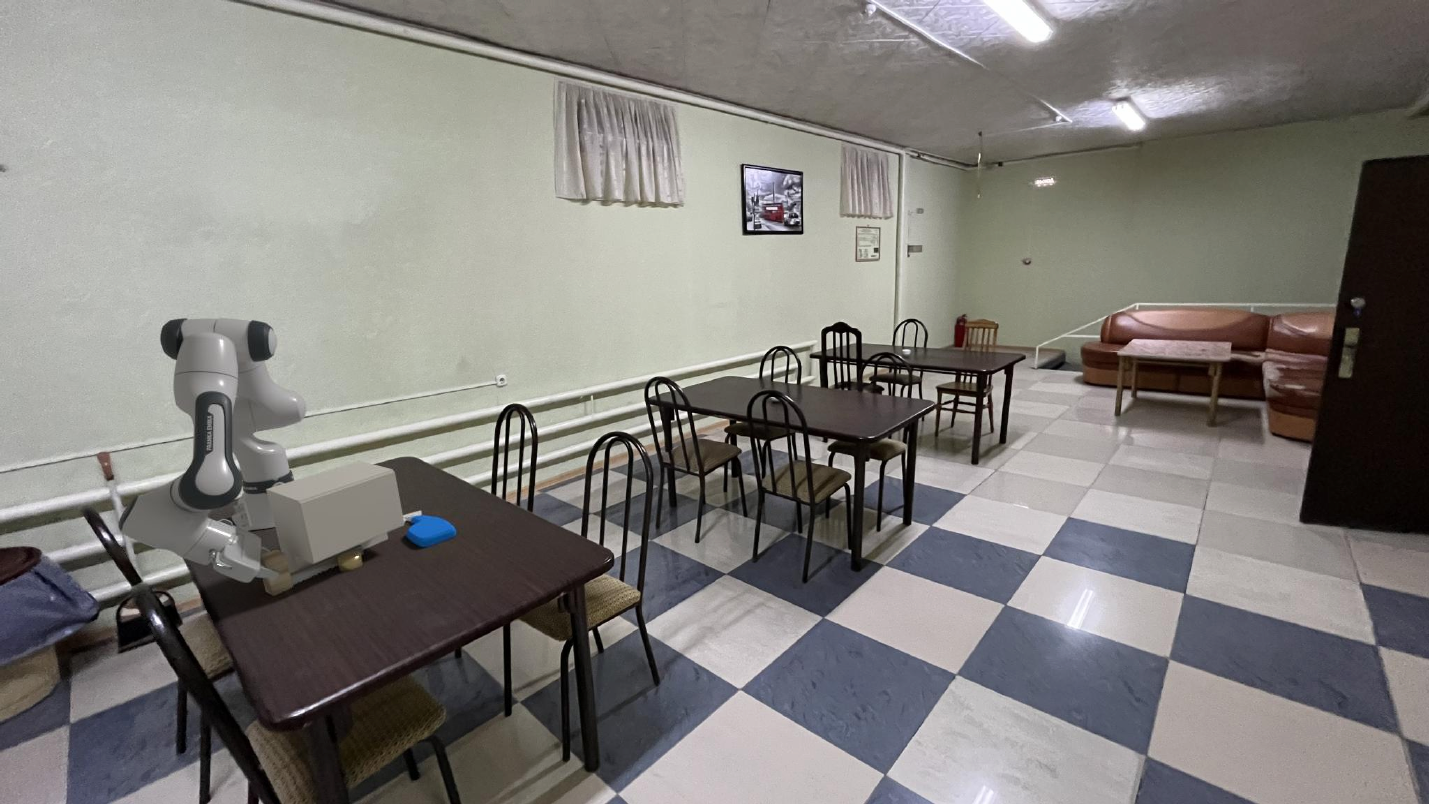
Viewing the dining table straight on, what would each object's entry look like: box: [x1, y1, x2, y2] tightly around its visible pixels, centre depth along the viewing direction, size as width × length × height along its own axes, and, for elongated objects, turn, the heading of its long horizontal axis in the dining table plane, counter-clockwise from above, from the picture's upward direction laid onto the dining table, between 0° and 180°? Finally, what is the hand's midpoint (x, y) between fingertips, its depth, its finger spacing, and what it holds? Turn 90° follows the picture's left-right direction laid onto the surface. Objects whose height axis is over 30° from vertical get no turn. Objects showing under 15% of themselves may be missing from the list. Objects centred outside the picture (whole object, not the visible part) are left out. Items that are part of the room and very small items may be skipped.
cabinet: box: [266, 460, 405, 573], centre depth 144 cm, size 17×22×22 cm
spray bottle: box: [403, 510, 457, 548], centre depth 161 cm, size 3×11×24 cm
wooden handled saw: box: [260, 545, 365, 597], centre depth 139 cm, size 4×21×9 cm, turn 150°
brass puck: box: [337, 551, 364, 572], centre depth 142 cm, size 5×5×3 cm
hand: (277, 567), depth 132 cm, fingers open, 8 cm apart
